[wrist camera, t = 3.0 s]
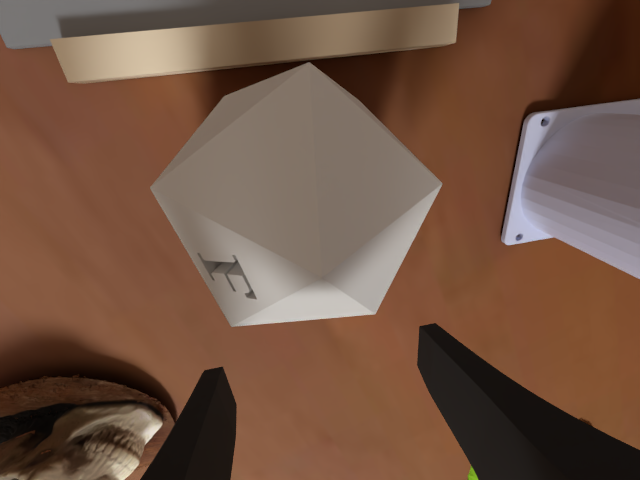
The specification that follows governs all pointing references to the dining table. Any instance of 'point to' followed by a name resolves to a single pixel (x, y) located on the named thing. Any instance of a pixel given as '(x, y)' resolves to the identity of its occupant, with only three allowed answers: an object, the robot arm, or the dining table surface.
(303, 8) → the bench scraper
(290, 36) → the stop bar
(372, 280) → the die
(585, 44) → the dining table surface
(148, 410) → the skull
